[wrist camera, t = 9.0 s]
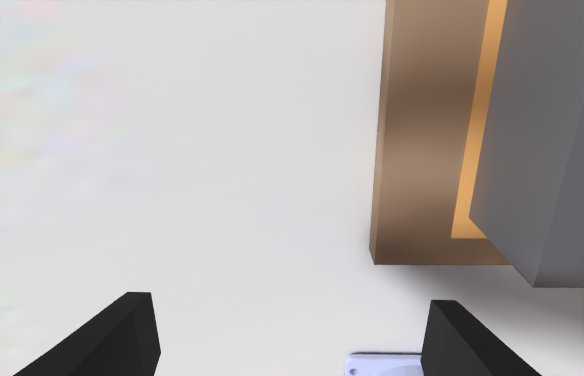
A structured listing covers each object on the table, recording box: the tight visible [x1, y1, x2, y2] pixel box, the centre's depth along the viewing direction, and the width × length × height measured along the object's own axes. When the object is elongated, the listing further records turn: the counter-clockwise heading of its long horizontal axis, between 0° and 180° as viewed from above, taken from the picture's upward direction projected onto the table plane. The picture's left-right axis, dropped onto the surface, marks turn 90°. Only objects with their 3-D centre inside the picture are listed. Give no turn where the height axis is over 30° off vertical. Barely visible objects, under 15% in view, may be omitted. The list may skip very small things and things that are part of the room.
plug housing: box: [469, 0, 584, 288], centre depth 12 cm, size 9×4×5 cm, turn 1°
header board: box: [369, 0, 512, 265], centre depth 14 cm, size 14×12×5 cm
